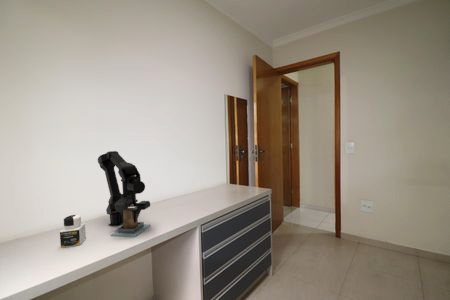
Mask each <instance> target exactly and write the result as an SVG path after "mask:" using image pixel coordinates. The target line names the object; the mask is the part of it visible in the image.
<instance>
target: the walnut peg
mask: <svg viewBox="0 0 450 300" xmlns="http://www.w3.org/2000/svg"><path fill="white" fill-rule="evenodd" d="M134 209H135V207H128V208H127V209H126V210H124V211H123V217H124V223H123V225H124V228H134V227H136V226H137V225H138V222H139V220H138V219H137V221H136V222H134V212H133V211H132V210H134Z"/></svg>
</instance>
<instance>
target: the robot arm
mask: <svg viewBox="0 0 450 300" xmlns="http://www.w3.org/2000/svg"><path fill="white" fill-rule="evenodd" d="M97 163H98V165H99V167H100V169H102V170H103V171H104V174H105V178H106V182H107V187H108V191H109V195H110V197H109V199H108V201H107V202H108V205H107V208H106V210H105V212H106V214H107V215H109V221H110V223H109V224H107V225H108V226H112V227H113V226H117V227H119V226H122V224H123V225H124V217H123V211H124V210H126V209H127V208H135V209H134V210H132V211H133V212H134V222H136V221H137V219H138V218H139V216H140V214H141V211H143V210H144V211H145V210H147V209H148V208H150V207H151V202H150V200H141V201H140V202H138V199H137V194H141V193H143V192H144V191H145V189H146V185H145V183H144V181H141V180H142V178H141V174H140V172H139V171H138V168H137V167H136V165H134V163H131V162H128V161H126V160H125V159H124V158H123V157H122V156H121V155H120V154H119V152H118V151H116V150H112V151H110V150H109V151H107V152H106V153H104V154H100V155H99V156H98V158H97ZM115 167H116V168H117V169H118V172H117V174H118V175H119V177H120V181H121V185H122V192H121V191H120V187H119V184H118V183H119V182H118V178H117V175H116V171H115Z"/></svg>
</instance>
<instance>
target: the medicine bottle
mask: <svg viewBox="0 0 450 300" xmlns="http://www.w3.org/2000/svg"><path fill="white" fill-rule="evenodd" d="M86 233H87V232H86V223H85V222H84V223H82V217H81V215H80V214H72V215H68V216H66V217H64V218H63V229H61V230H60V231H59V240H60V248H61V249H62V248H69V247H70V248H71V247H77V246H80V245H81V244H82V243H83V242H84V241H85V240H86V239H87V235H86Z"/></svg>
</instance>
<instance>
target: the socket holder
mask: <svg viewBox="0 0 450 300" xmlns="http://www.w3.org/2000/svg"><path fill="white" fill-rule="evenodd" d="M149 227H151V224H150V223H149V224H147V223H144V221H138V225H137V226H136V227H134V228H124V224H123V225H120V227H118V228H117V230H116V231H114V232H113V233H111V234H109V235H110V237H123V238H124V237H125V238H126V237H127V238H136V237H138V236H139V235H141V234H142V233H143V232H144V231H145V230H147V229H148V228H149Z"/></svg>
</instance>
